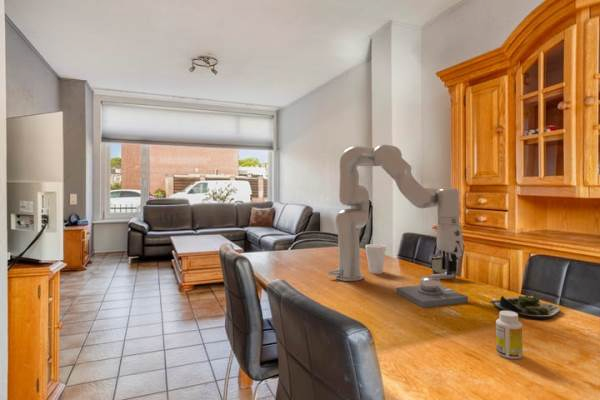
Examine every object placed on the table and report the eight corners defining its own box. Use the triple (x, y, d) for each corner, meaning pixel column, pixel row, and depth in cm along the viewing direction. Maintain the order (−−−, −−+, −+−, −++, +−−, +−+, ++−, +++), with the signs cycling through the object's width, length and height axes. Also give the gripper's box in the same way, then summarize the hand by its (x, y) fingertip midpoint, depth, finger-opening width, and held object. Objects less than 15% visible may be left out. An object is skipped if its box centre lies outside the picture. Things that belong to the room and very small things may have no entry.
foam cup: (362, 271, 176) (361, 245, 175) (377, 269, 180) (377, 243, 179) (374, 275, 167) (373, 247, 167) (390, 273, 171) (389, 246, 171)
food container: (454, 275, 164) (454, 253, 164) (459, 278, 158) (458, 256, 157) (426, 275, 165) (426, 253, 165) (430, 278, 159) (430, 256, 159)
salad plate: (513, 297, 132) (513, 285, 131) (570, 310, 117) (570, 296, 117) (484, 308, 121) (484, 295, 121) (543, 324, 106) (543, 309, 106)
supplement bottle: (524, 353, 88) (524, 312, 87) (519, 362, 84) (519, 319, 83) (499, 347, 91) (499, 307, 91) (493, 355, 87) (492, 313, 87)
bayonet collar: (428, 293, 128) (428, 254, 127) (415, 286, 137) (414, 250, 136) (460, 290, 131) (460, 252, 130) (445, 283, 140) (445, 248, 139)
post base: (422, 307, 122) (422, 299, 122) (396, 292, 140) (396, 285, 140) (467, 302, 126) (467, 294, 126) (437, 288, 144) (437, 281, 144)
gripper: (472, 222, 127) (473, 274, 127) (443, 219, 143) (444, 265, 143) (453, 223, 125) (454, 276, 126) (426, 220, 141) (427, 266, 142)
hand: (449, 269), depth 134 cm, fingers closed on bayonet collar, 3 cm apart
